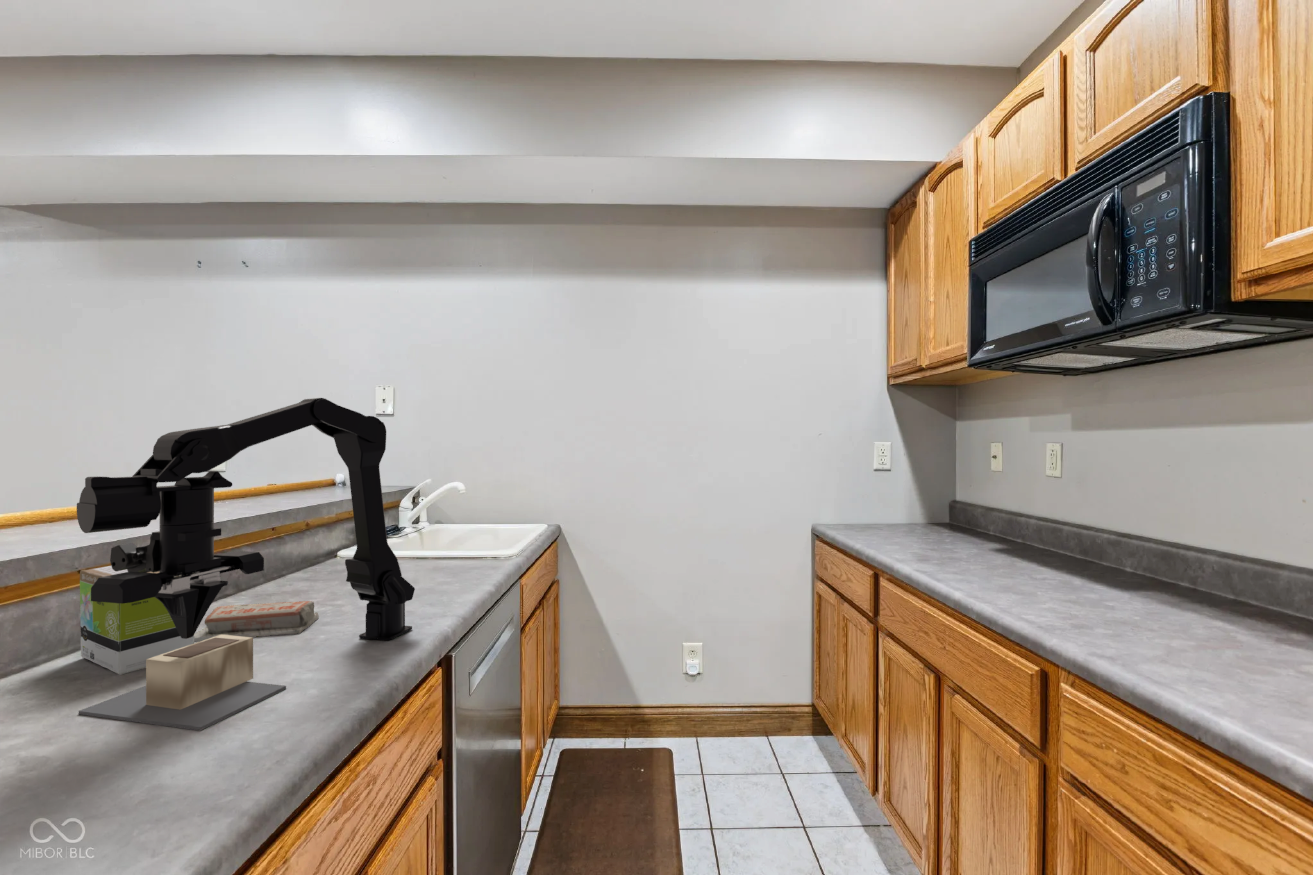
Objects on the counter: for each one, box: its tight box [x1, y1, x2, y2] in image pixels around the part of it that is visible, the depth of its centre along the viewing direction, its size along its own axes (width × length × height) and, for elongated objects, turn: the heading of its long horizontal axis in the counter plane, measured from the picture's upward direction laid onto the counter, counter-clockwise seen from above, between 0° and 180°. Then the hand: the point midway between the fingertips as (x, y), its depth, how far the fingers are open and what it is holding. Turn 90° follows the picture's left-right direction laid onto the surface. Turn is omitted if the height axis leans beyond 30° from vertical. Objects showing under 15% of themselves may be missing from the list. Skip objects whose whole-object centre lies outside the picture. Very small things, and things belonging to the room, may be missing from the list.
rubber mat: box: [78, 681, 287, 731], centre depth 77 cm, size 12×20×1 cm, turn 77°
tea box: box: [79, 565, 195, 676], centre depth 93 cm, size 15×10×15 cm
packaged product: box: [194, 600, 320, 642], centre depth 107 cm, size 18×5×10 cm
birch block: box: [145, 634, 254, 710], centre depth 79 cm, size 6×6×10 cm
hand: (187, 637), depth 77 cm, fingers closed
